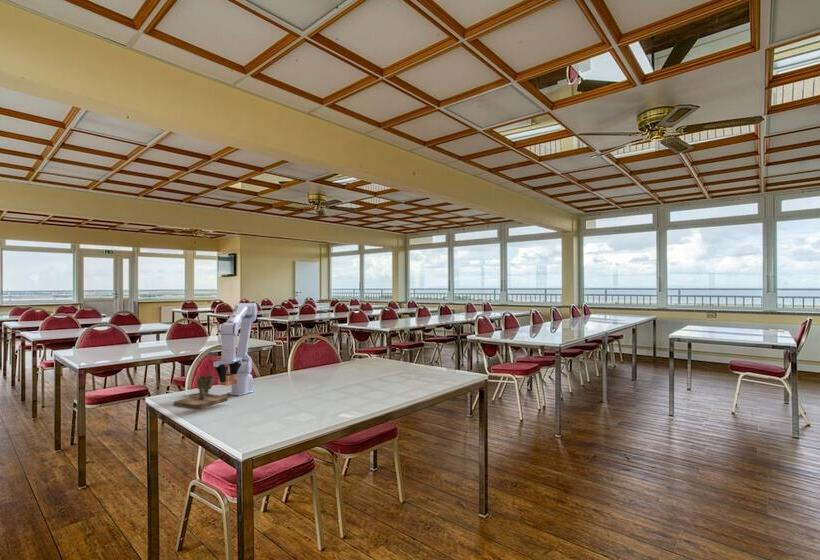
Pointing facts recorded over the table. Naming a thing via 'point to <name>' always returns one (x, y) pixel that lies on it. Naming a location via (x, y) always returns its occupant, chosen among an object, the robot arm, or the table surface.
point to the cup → (204, 383)
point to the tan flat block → (200, 400)
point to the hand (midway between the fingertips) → (227, 380)
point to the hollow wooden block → (228, 379)
